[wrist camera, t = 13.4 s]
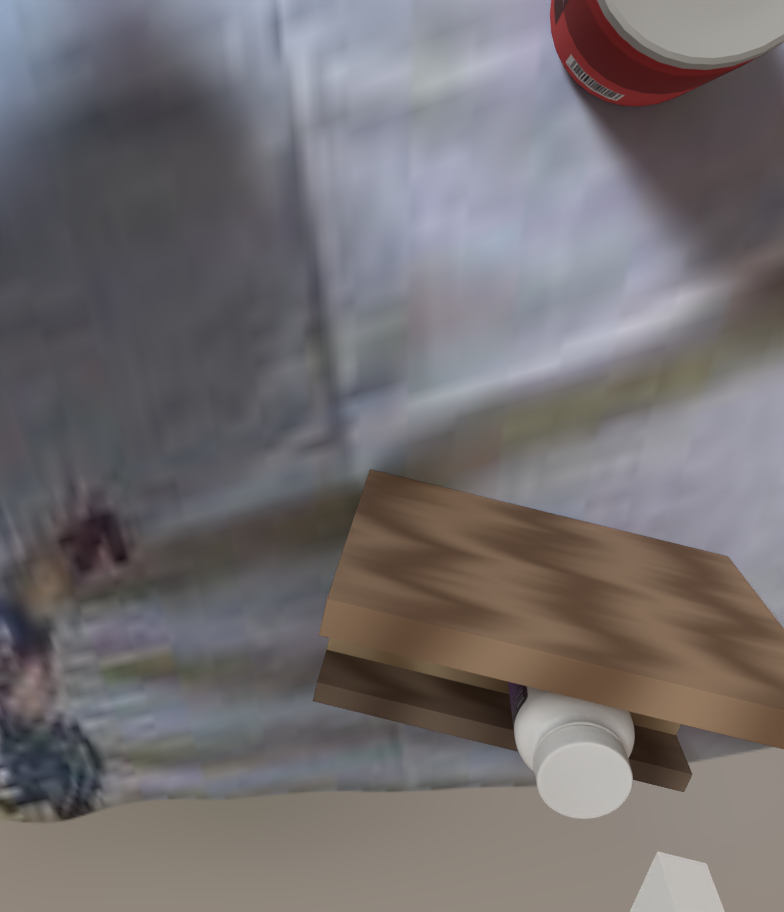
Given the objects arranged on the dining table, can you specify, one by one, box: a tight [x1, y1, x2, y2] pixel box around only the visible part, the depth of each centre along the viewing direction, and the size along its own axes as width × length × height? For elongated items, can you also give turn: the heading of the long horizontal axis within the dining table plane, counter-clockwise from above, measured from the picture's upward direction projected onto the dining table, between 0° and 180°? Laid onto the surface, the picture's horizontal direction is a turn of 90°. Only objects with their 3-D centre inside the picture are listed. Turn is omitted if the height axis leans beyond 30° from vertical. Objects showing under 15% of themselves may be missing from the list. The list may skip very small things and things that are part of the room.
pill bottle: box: [508, 682, 635, 819], centre depth 35 cm, size 5×5×10 cm
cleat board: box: [313, 470, 784, 792], centre depth 35 cm, size 20×11×14 cm, turn 77°
